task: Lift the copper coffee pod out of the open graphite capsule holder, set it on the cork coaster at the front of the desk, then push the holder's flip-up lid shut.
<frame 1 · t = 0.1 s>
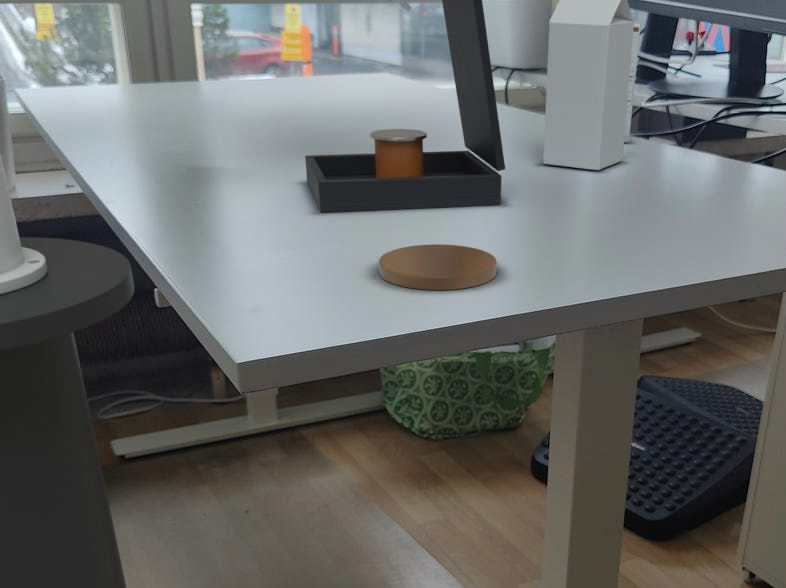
coffee pod: (400, 185, 97), point 1 cm above the table, touching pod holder
holder lid: (469, 60, 93), point 12 cm above the table, hinge at 80.0°
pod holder: (400, 193, 97), on the table
syrup box: (601, 142, 127), on the table
coaster: (438, 272, 74), on the table
milk carton: (582, 165, 113), on the table
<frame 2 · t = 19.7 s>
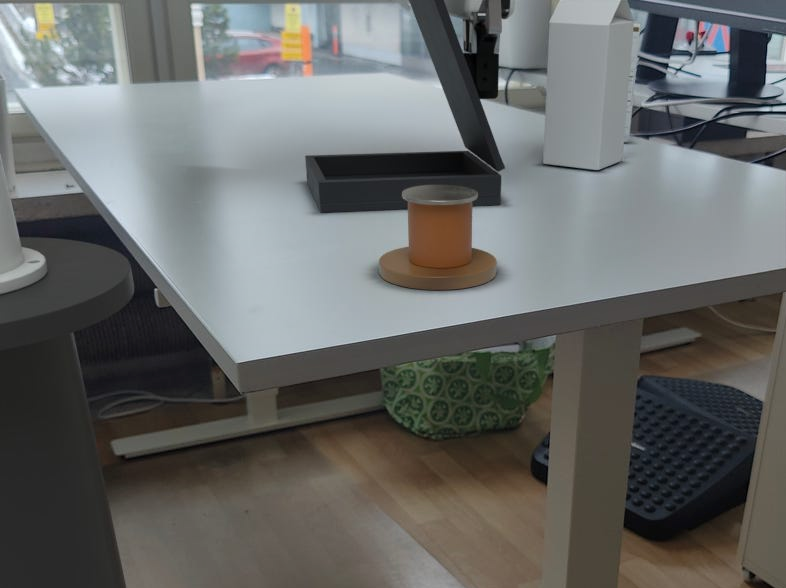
hand: (480, 97, 95), 9 cm above the table, tool pointing down, fingers closed
coffee pod: (440, 259, 73), point 1 cm above the table, touching coaster
holder lid: (450, 67, 93), point 12 cm above the table, hinge at 67.3°, touching gripper
everything else where it was.
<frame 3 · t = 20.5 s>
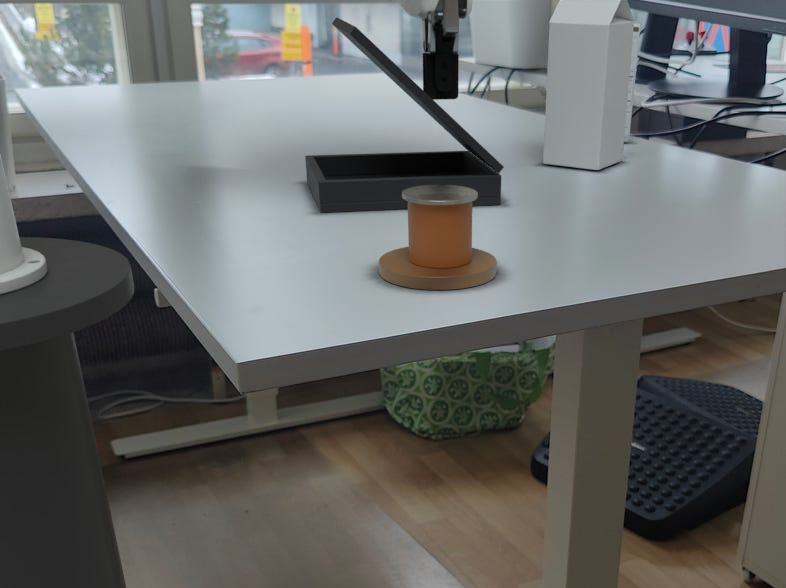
hand: (440, 97, 94), 9 cm above the table, tool pointing down, fingers closed
holder lid: (416, 94, 93), point 9 cm above the table, hinge at 41.4°, touching gripper
everything else where it was.
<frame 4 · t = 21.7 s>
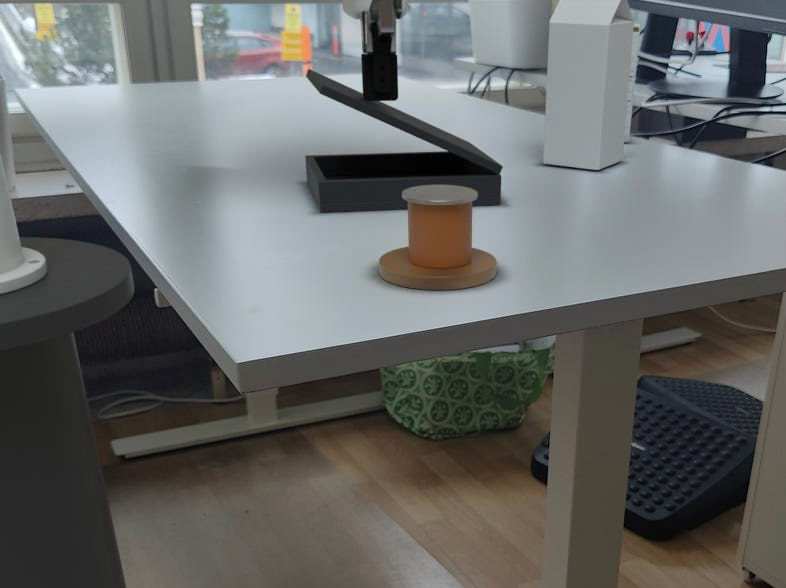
hand: (380, 99, 93), 9 cm above the table, tool pointing down, fingers closed
holder lid: (402, 120, 94), point 7 cm above the table, hinge at 24.0°, touching gripper
everything else where it was.
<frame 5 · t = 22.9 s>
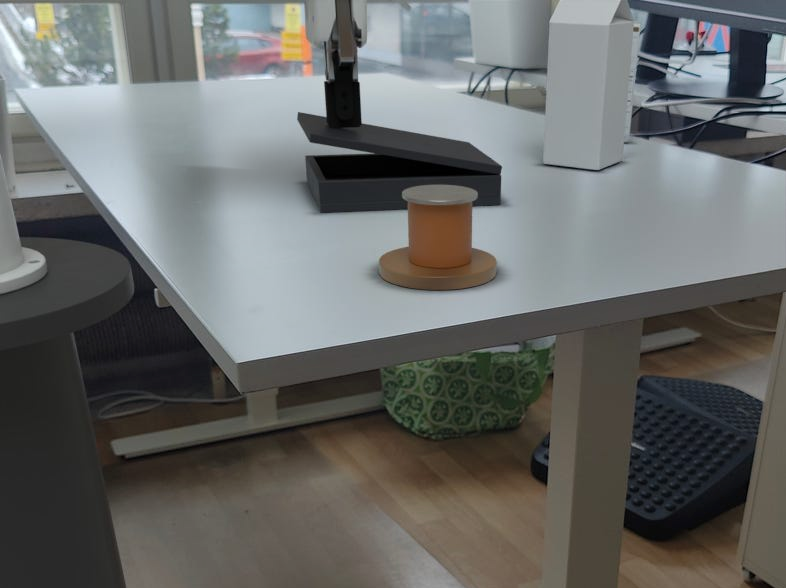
hand: (344, 125, 93), 7 cm above the table, tool pointing down, fingers closed
holder lid: (396, 142, 95), point 5 cm above the table, hinge at 10.7°
everything else where it was.
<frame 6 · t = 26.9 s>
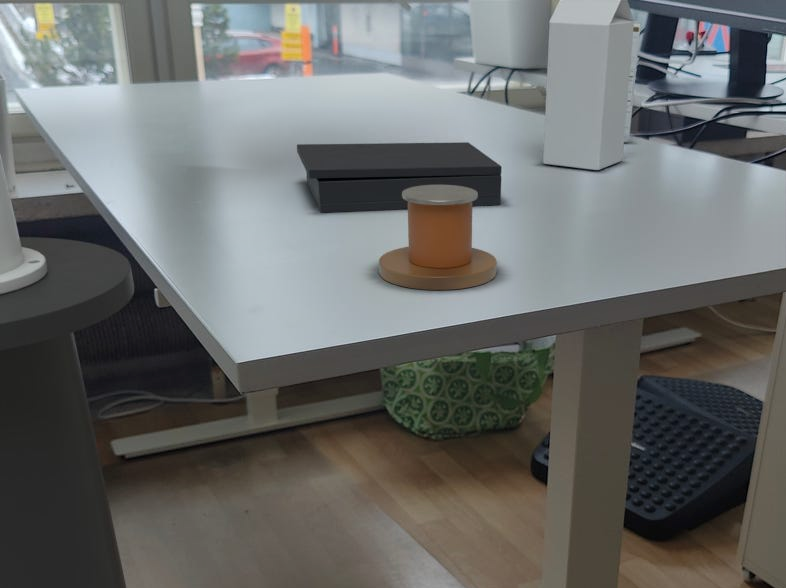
holder lid: (395, 159, 96), point 3 cm above the table, hinge at 0.8°
everything else where it was.
at the end: coffee pod 0.2 cm off-centre on the coaster, point 1.0 cm above the coaster's base; coffee pod tilted 0°; holder lid at +1° (first picture: +80°) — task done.
